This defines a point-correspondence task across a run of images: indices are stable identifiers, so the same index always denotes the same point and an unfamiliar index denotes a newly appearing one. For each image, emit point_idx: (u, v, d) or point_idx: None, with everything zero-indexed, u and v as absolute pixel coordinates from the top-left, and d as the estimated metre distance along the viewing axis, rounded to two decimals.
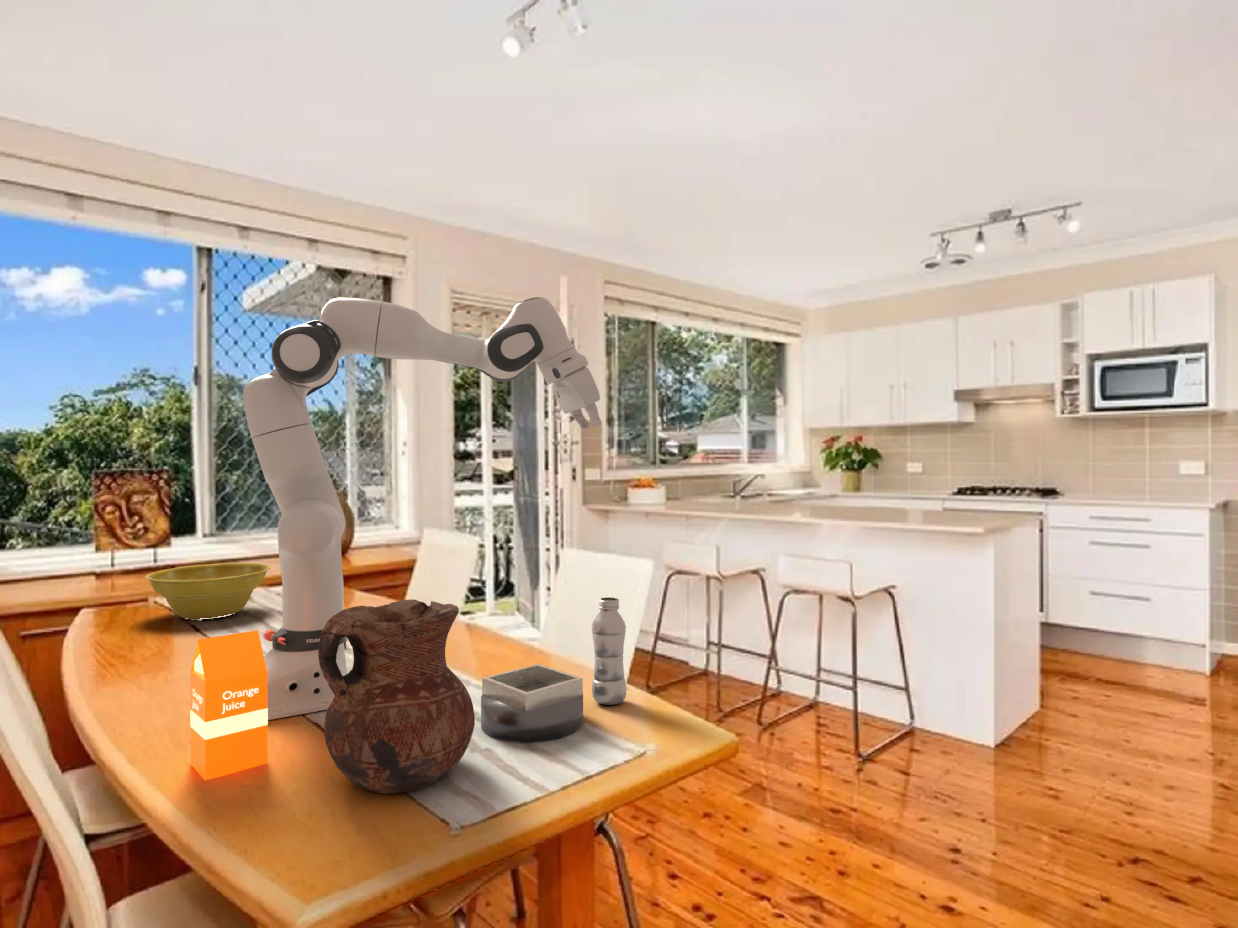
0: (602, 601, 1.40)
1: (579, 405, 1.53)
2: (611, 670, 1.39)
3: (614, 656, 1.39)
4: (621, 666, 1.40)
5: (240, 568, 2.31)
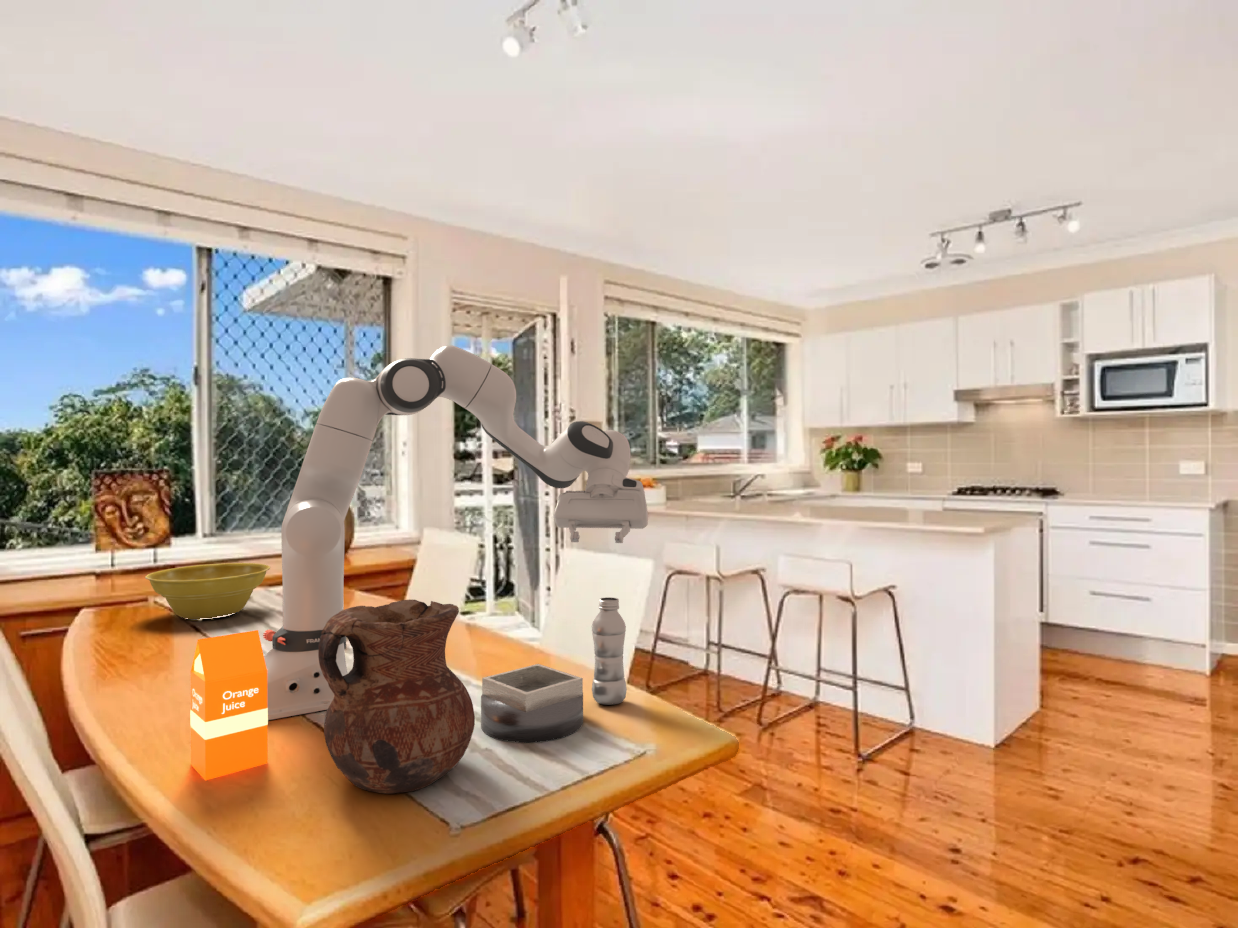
0: (602, 601, 1.40)
1: (623, 515, 1.55)
2: (611, 670, 1.39)
3: (614, 656, 1.39)
4: (621, 666, 1.40)
5: (240, 568, 2.31)
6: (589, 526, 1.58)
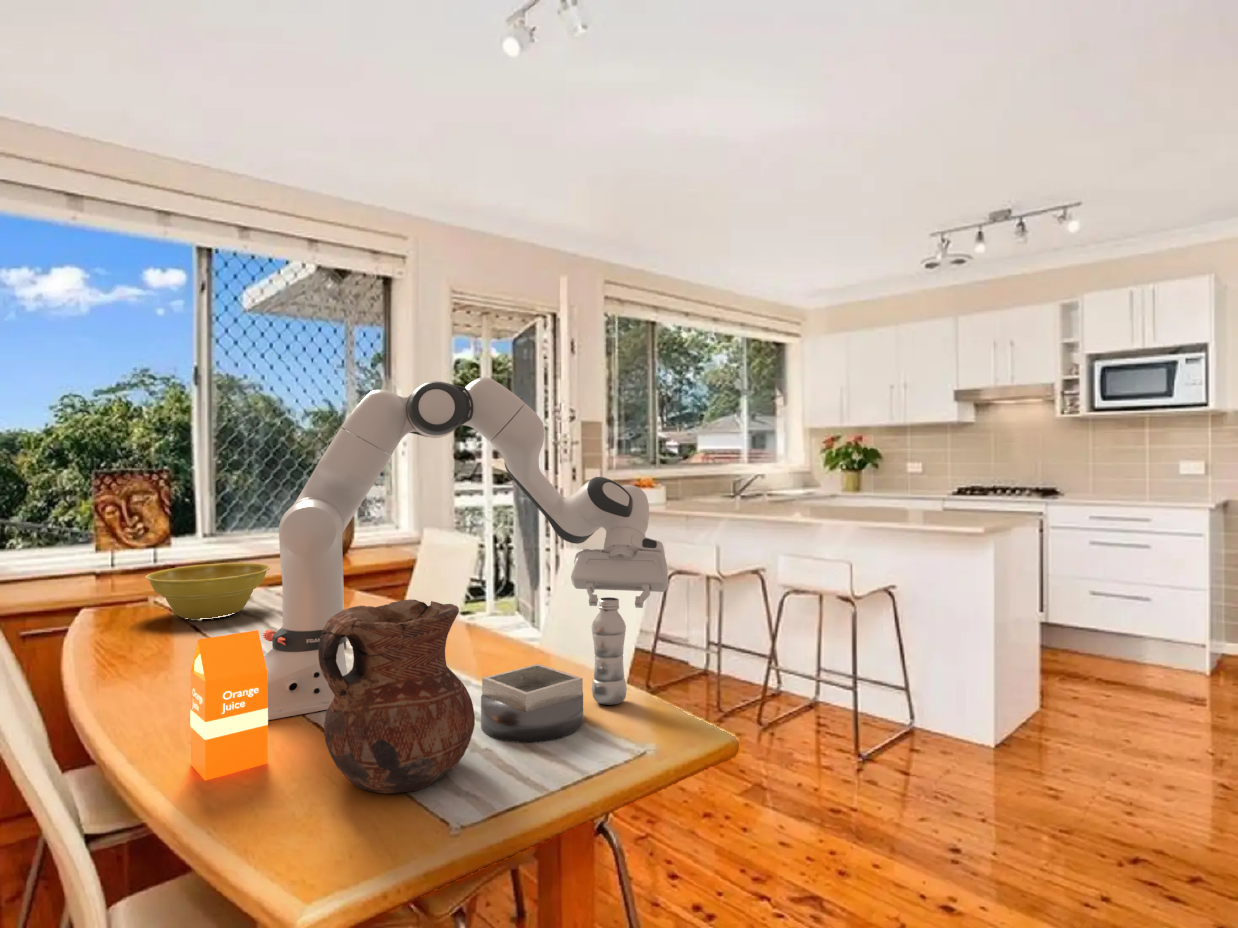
0: (602, 601, 1.40)
1: (643, 578, 1.50)
2: (611, 670, 1.39)
3: (614, 656, 1.39)
4: (621, 666, 1.40)
5: (240, 568, 2.31)
6: (607, 588, 1.53)
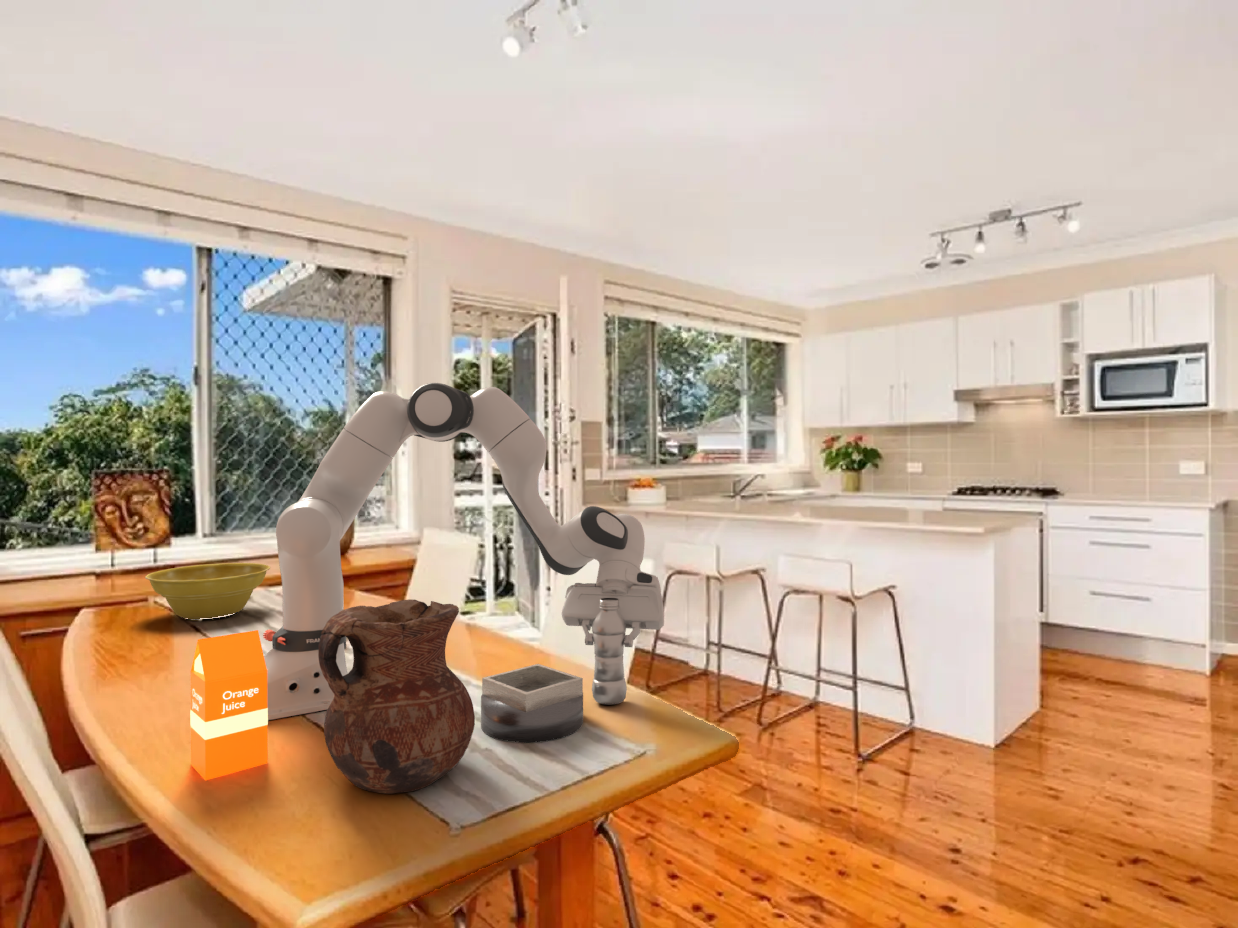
0: (602, 601, 1.40)
1: (638, 616, 1.42)
2: (611, 669, 1.39)
3: (614, 656, 1.39)
4: (621, 666, 1.40)
5: (240, 568, 2.31)
6: None
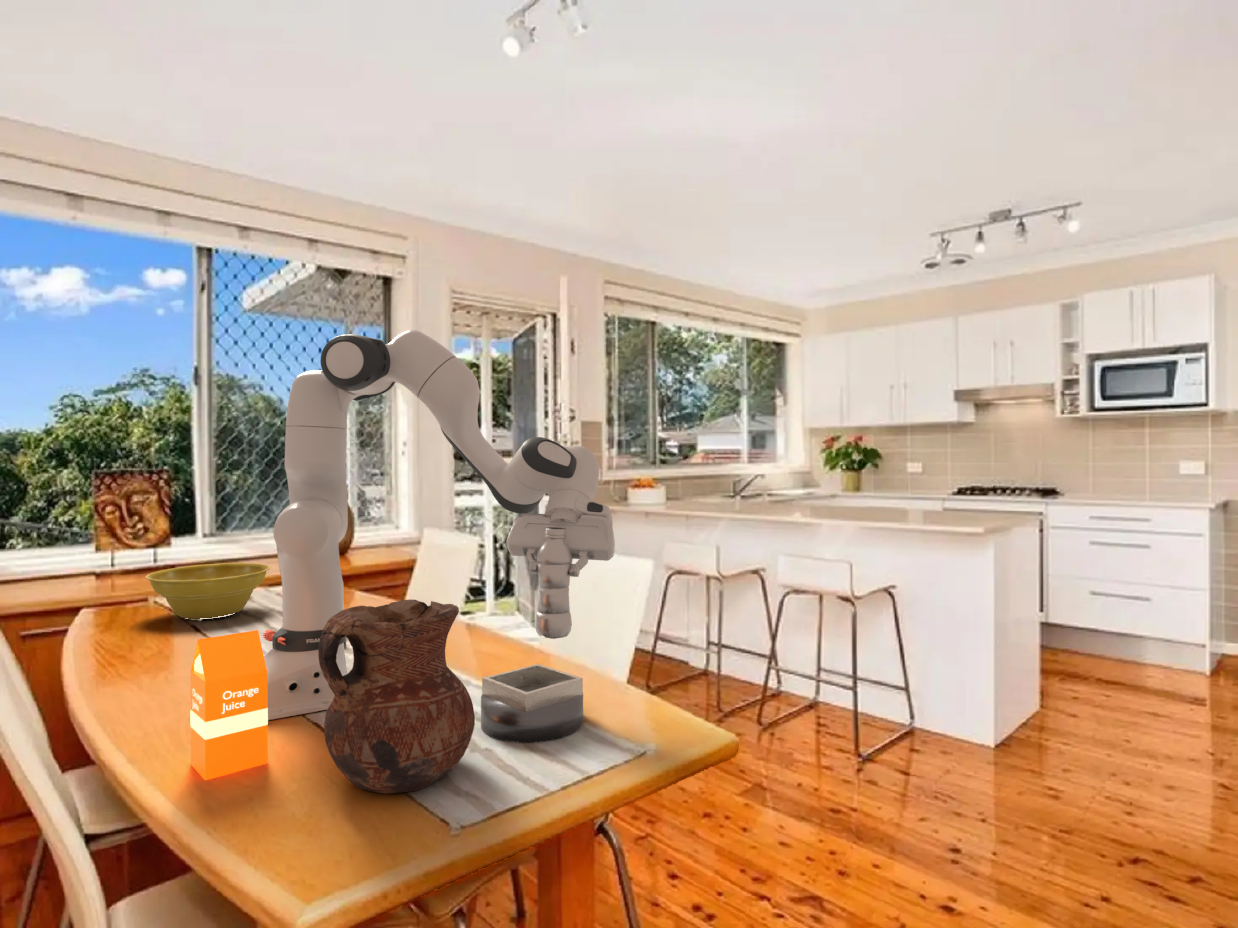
0: (548, 529, 1.32)
1: (586, 545, 1.35)
2: (555, 601, 1.31)
3: (559, 587, 1.31)
4: (566, 598, 1.33)
5: (240, 568, 2.31)
6: None
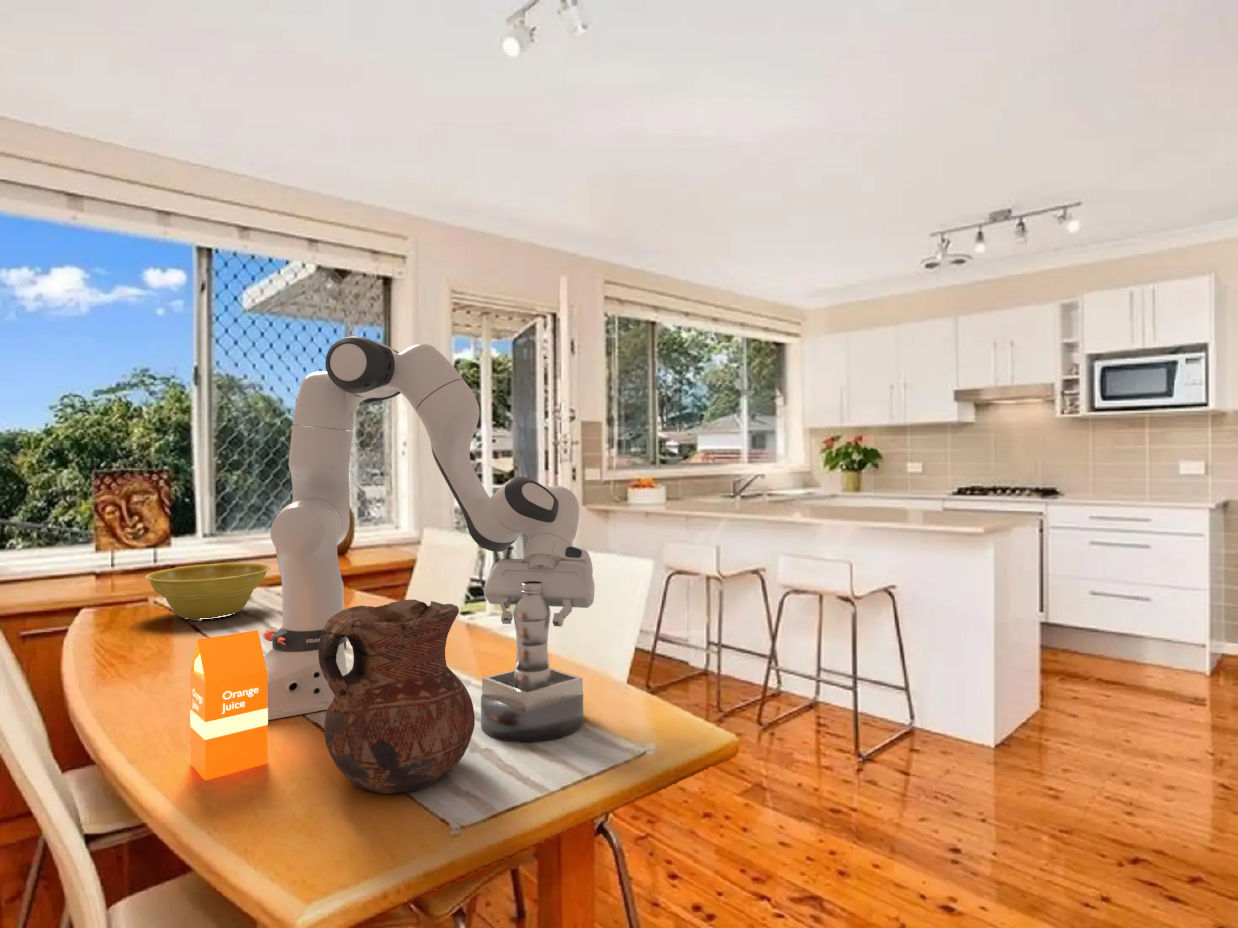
0: (524, 584, 1.29)
1: (564, 592, 1.32)
2: (533, 659, 1.28)
3: (536, 644, 1.28)
4: (544, 655, 1.29)
5: (240, 568, 2.31)
6: None
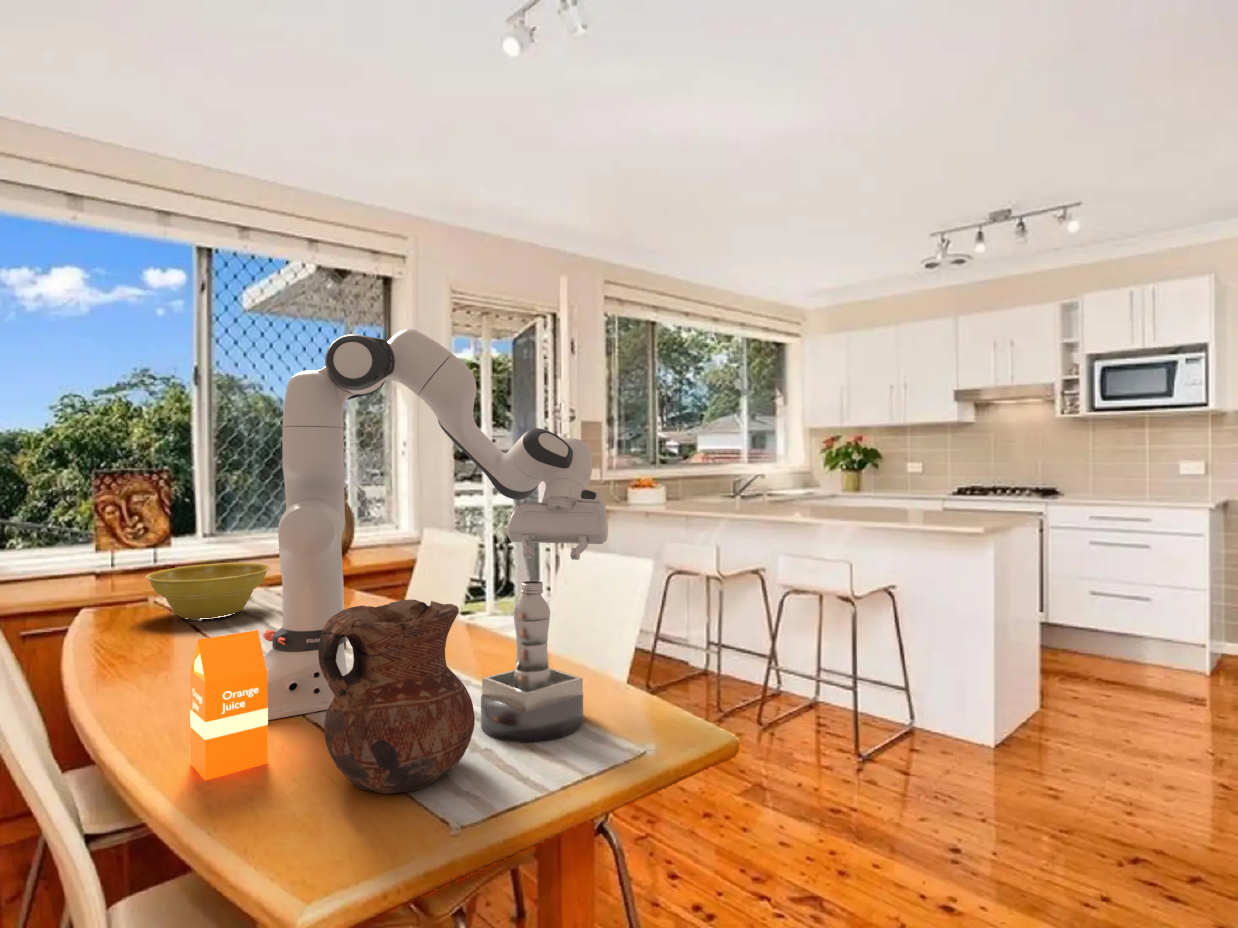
0: (524, 584, 1.29)
1: (580, 530, 1.44)
2: (533, 658, 1.28)
3: (536, 644, 1.28)
4: (544, 655, 1.30)
5: (240, 568, 2.31)
6: (544, 541, 1.47)
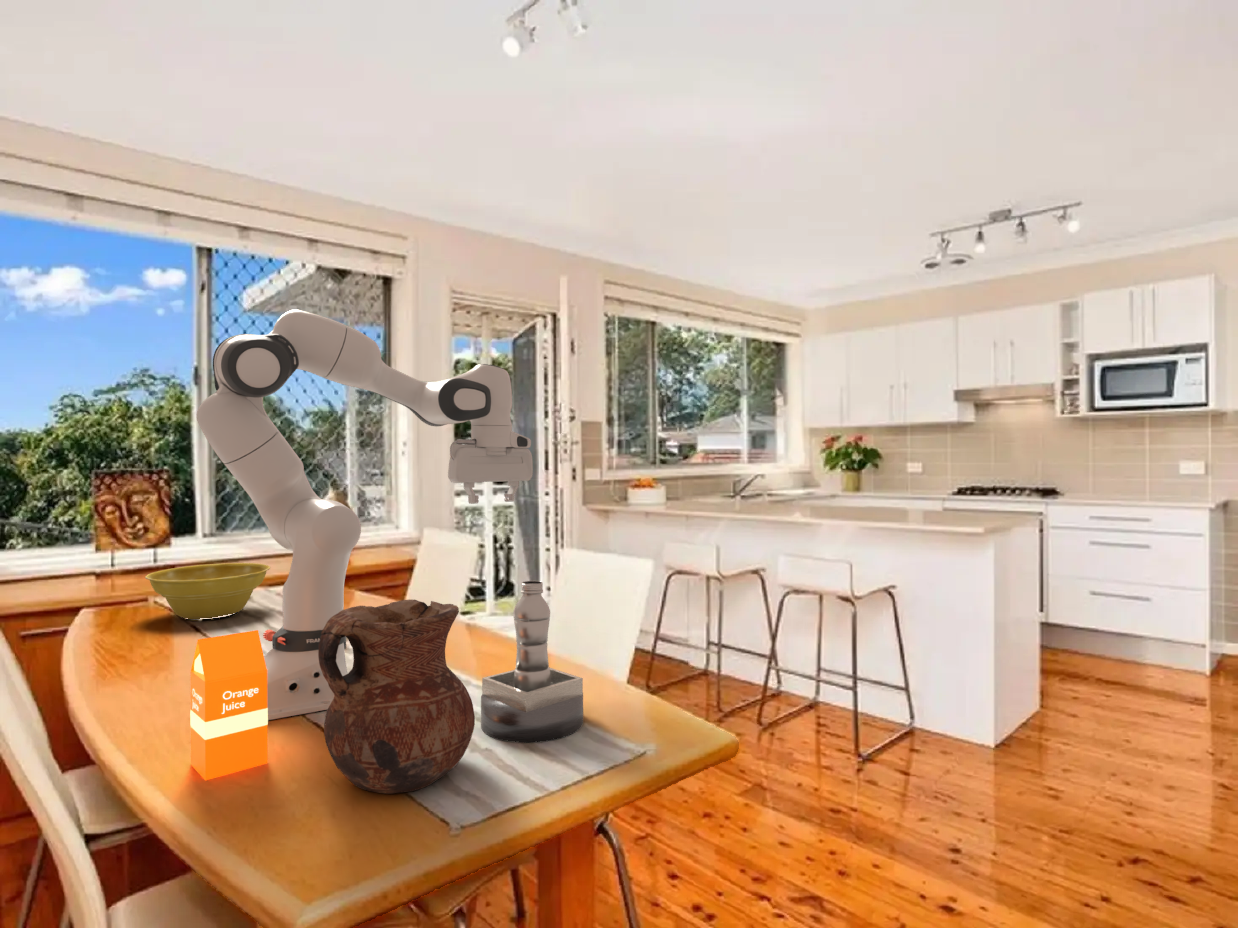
0: (524, 584, 1.29)
1: (516, 477, 1.64)
2: (533, 658, 1.28)
3: (536, 644, 1.28)
4: (544, 655, 1.29)
5: (240, 568, 2.31)
6: None
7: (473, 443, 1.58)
